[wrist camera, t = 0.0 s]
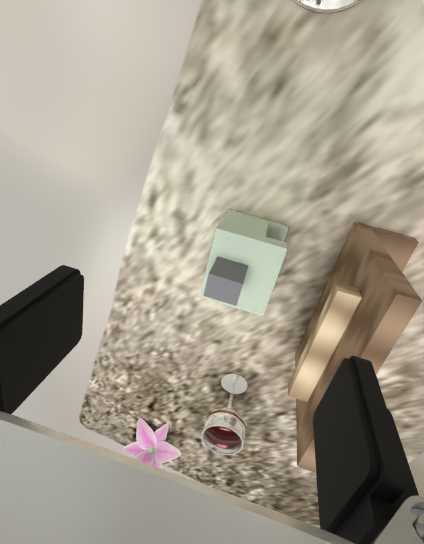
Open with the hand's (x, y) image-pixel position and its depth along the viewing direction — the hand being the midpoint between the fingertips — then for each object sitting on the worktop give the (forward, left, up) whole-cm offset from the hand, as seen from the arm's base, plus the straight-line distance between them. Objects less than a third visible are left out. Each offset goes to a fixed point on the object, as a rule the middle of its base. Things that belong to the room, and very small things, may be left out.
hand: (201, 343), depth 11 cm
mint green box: (+11, 0, -37) cm, 38 cm away
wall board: (+15, +16, -37) cm, 43 cm away
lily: (+59, -7, -37) cm, 70 cm away
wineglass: (+38, +5, -37) cm, 53 cm away
